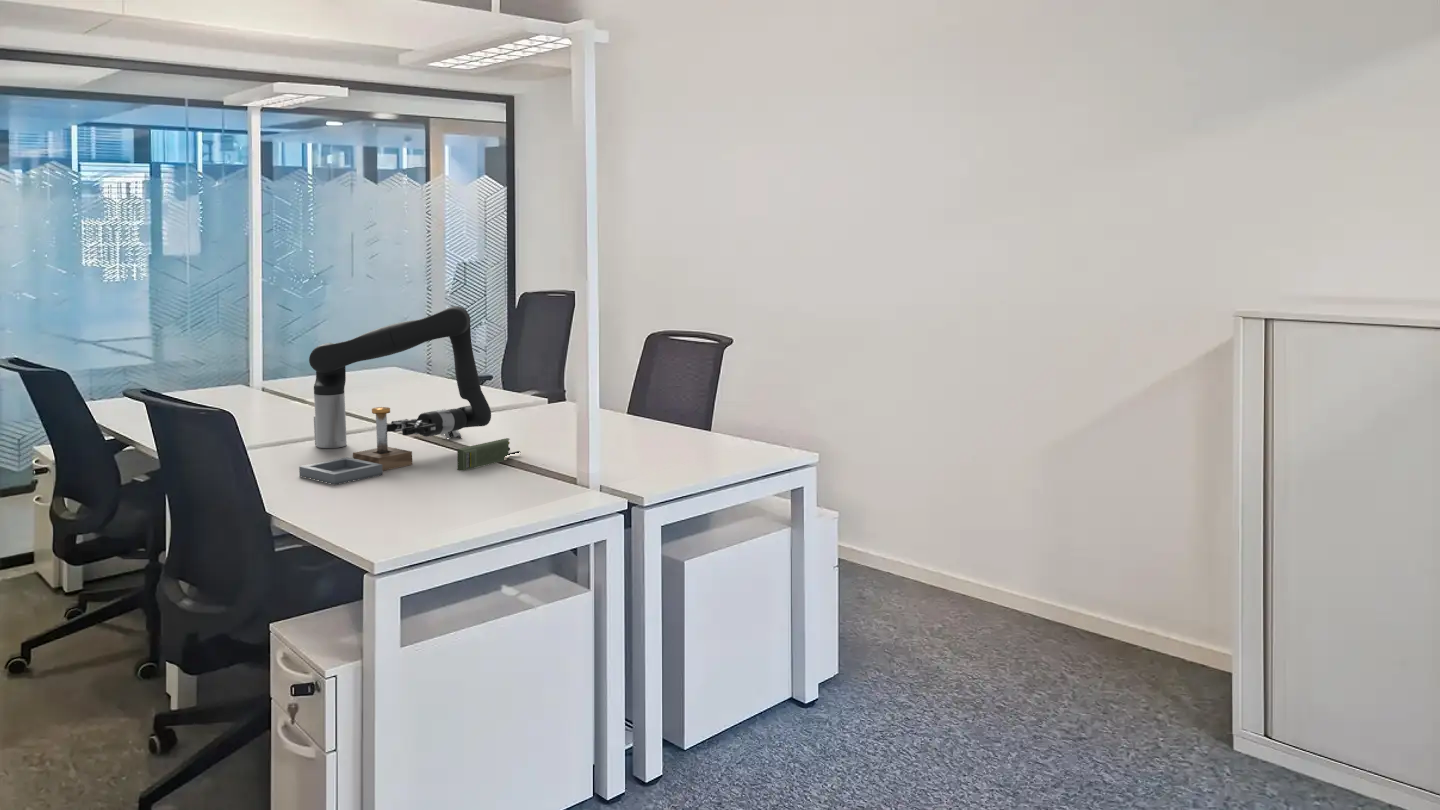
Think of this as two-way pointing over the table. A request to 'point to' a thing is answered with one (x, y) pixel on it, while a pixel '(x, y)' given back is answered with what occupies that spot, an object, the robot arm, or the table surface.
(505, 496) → the table surface
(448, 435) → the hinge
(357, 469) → the tray
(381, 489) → the table surface
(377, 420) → the pin
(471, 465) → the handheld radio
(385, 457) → the socket block
